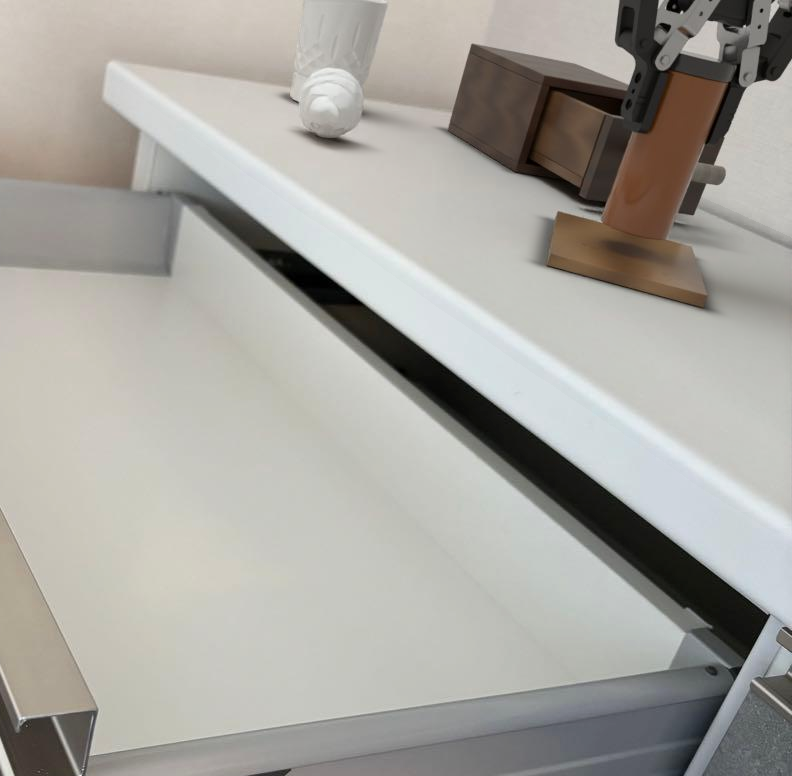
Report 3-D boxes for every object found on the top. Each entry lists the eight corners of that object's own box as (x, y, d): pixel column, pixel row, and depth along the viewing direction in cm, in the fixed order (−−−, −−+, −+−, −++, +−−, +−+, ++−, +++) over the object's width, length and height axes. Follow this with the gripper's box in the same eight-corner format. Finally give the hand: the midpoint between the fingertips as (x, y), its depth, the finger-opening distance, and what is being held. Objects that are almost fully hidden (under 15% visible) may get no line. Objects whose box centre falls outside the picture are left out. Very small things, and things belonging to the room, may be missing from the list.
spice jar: (667, 230, 76) (733, 62, 70) (671, 245, 72) (741, 68, 66) (598, 212, 76) (658, 44, 71) (598, 226, 72) (662, 49, 67)
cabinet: (626, 189, 100) (660, 96, 96) (514, 172, 96) (544, 74, 92) (548, 147, 113) (575, 63, 108) (447, 130, 109) (471, 43, 105)
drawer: (724, 232, 87) (758, 151, 84) (612, 215, 84) (643, 130, 80) (606, 169, 102) (631, 98, 99) (508, 153, 99) (530, 79, 96)
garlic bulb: (288, 139, 89) (302, 68, 86) (293, 126, 94) (307, 59, 91) (353, 153, 89) (370, 83, 86) (355, 140, 94) (370, 73, 91)
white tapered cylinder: (269, 95, 106) (291, -19, 101) (308, 92, 112) (330, -15, 107) (340, 117, 103) (366, 1, 98) (375, 113, 109) (401, 4, 104)
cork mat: (687, 256, 81) (691, 246, 80) (702, 307, 69) (708, 295, 68) (554, 221, 82) (557, 210, 82) (546, 265, 70) (550, 253, 70)
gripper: (719, -201, 57) (603, 134, 66) (928, -140, 62) (794, 167, 70) (643, -200, 63) (546, 107, 72) (838, -144, 68) (725, 139, 76)
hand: (669, 135), depth 71 cm, fingers closed on spice jar, 4 cm apart
